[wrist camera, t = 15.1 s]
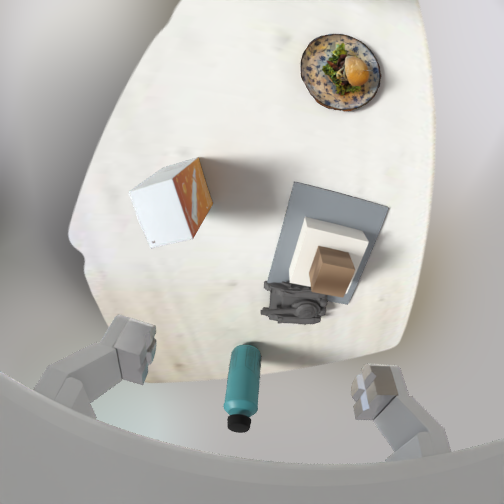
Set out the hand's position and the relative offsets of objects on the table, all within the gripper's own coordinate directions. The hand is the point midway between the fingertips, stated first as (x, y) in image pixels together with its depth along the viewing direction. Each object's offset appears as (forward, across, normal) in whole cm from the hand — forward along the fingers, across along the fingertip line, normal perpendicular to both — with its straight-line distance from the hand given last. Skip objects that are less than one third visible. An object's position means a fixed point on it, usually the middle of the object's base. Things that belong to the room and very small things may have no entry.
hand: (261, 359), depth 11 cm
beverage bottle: (+37, -4, +40) cm, 55 cm away
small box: (+37, +12, +7) cm, 40 cm away
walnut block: (+33, -12, +13) cm, 37 cm away
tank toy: (+38, -10, +24) cm, 46 cm away
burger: (+38, -6, -15) cm, 41 cm away
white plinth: (+37, -12, +13) cm, 41 cm away
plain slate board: (+37, -12, +13) cm, 41 cm away
